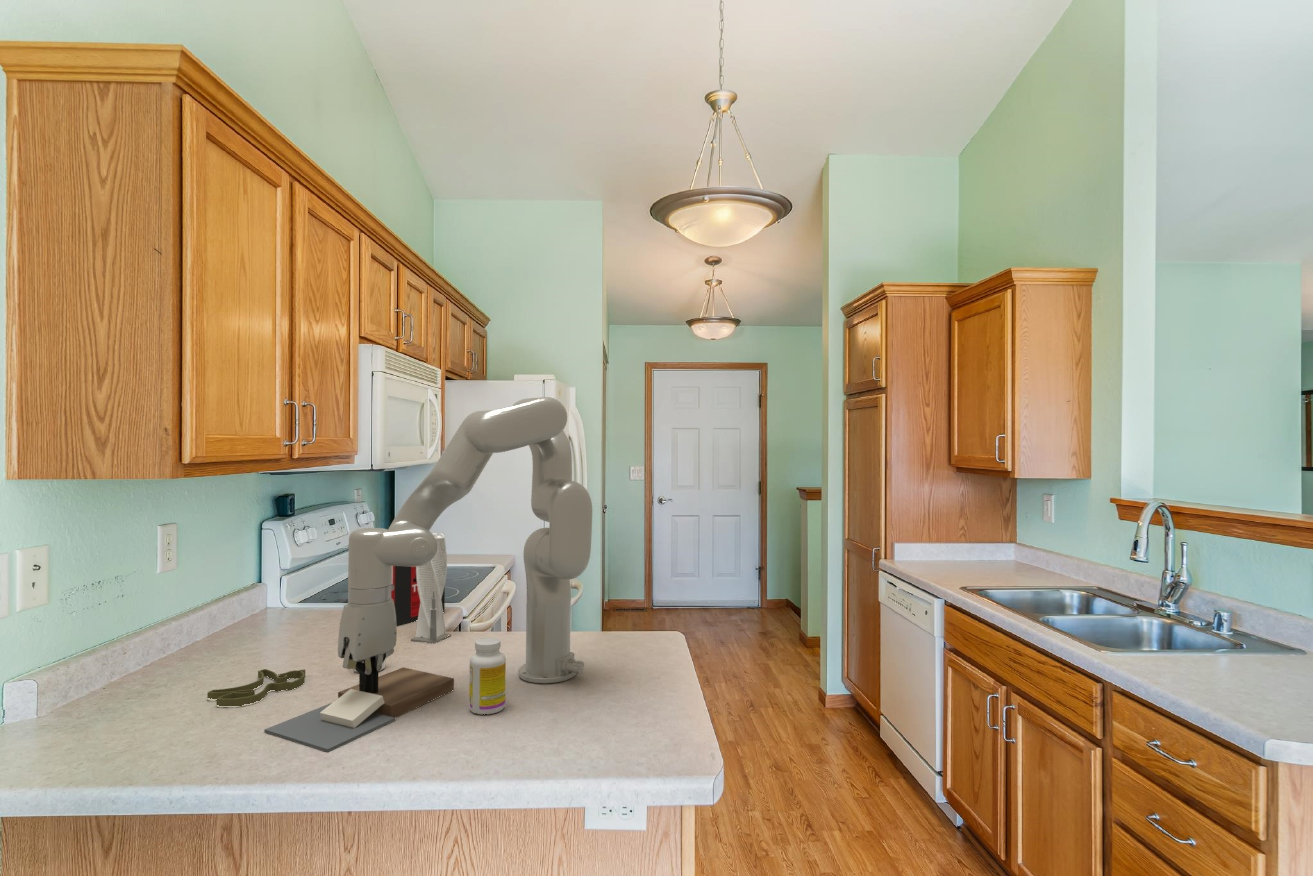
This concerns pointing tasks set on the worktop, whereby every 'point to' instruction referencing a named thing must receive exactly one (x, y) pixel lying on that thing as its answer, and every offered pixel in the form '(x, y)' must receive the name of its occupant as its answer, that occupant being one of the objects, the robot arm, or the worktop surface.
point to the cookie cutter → (246, 692)
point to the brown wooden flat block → (408, 690)
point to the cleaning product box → (407, 594)
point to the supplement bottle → (487, 677)
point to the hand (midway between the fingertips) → (368, 692)
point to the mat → (325, 729)
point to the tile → (352, 708)
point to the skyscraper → (432, 596)
